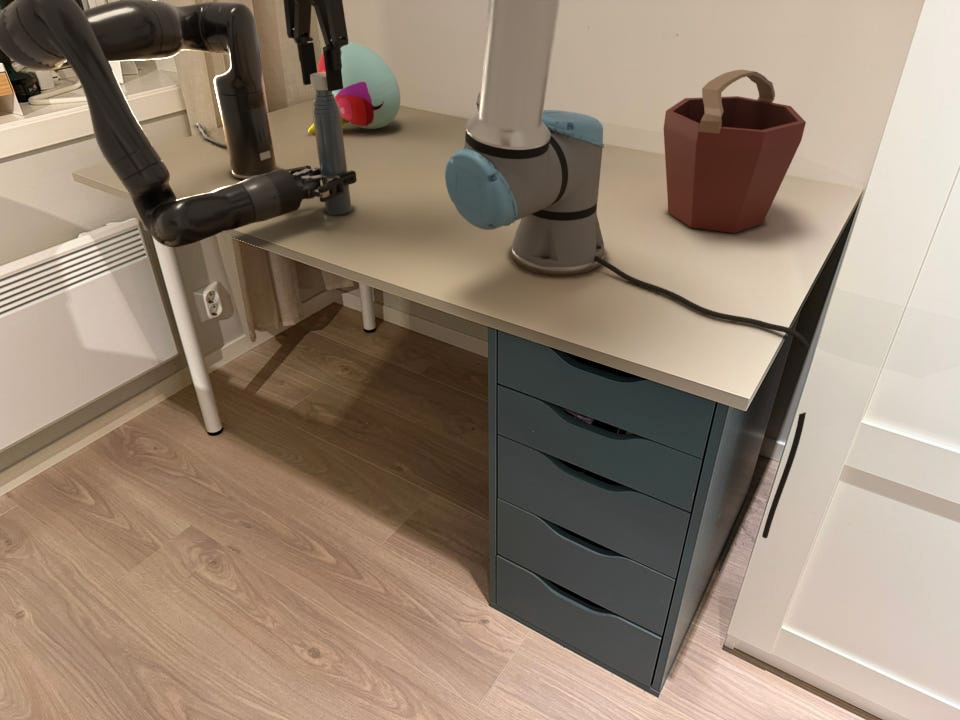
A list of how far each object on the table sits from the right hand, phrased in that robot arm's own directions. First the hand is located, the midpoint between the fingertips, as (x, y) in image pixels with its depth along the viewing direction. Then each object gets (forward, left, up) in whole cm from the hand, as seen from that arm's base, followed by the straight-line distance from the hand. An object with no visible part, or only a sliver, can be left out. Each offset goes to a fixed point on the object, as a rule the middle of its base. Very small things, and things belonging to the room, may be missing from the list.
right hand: (323, 86), depth 122 cm
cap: (0, 0, +2) cm, 2 cm away
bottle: (0, 0, -23) cm, 23 cm away
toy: (+52, -16, -23) cm, 59 cm away
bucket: (-29, -64, -23) cm, 74 cm away
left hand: (+1, -2, -16) cm, 16 cm away
